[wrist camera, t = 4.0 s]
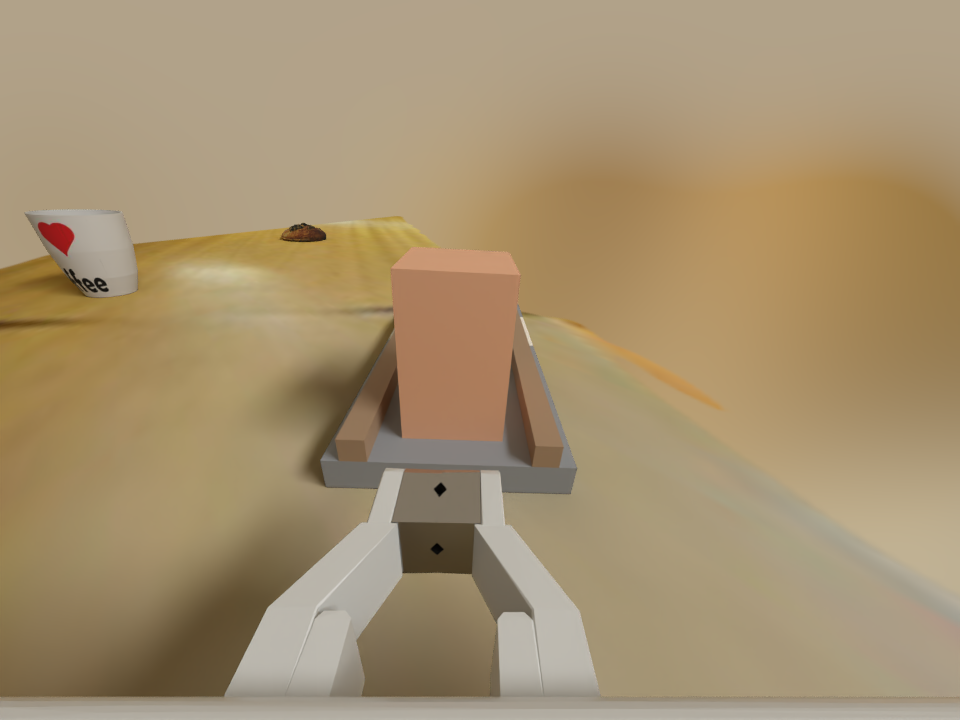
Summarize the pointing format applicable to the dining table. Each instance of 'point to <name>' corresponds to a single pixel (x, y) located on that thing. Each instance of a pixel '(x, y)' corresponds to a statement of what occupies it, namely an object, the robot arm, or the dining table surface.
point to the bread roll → (303, 233)
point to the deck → (519, 457)
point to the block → (454, 341)
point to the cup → (90, 249)
